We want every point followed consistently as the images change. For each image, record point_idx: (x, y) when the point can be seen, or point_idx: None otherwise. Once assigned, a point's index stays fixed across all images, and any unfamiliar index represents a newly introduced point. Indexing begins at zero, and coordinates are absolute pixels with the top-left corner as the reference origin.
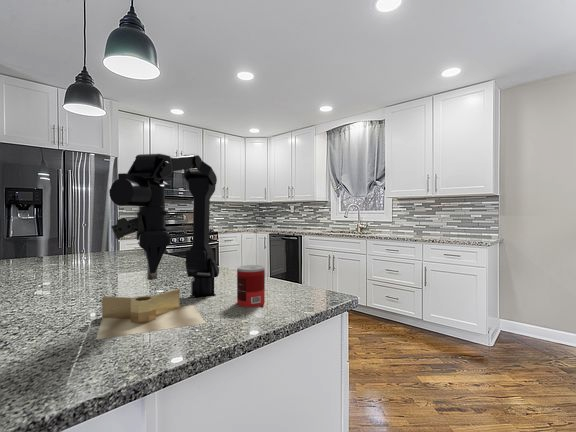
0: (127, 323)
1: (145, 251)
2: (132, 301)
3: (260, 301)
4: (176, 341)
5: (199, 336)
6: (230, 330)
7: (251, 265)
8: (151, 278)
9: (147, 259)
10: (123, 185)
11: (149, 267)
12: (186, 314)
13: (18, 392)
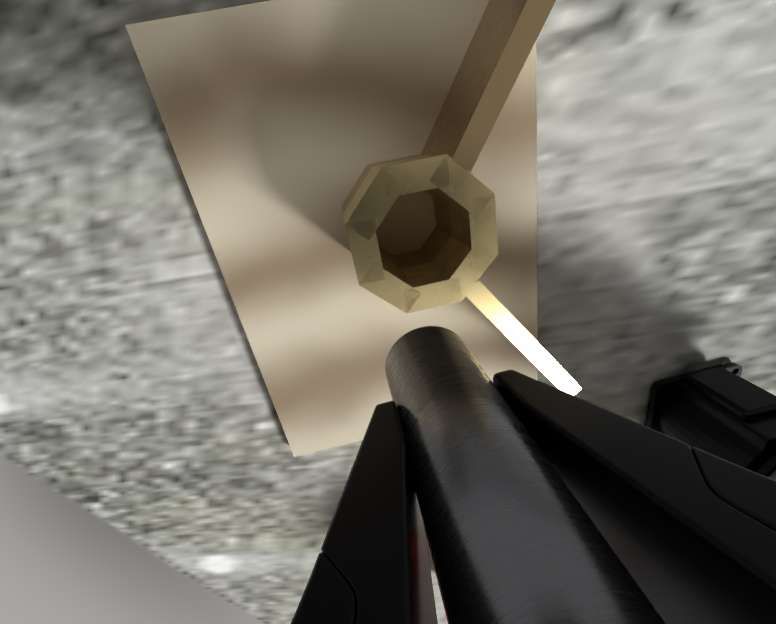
0: (356, 149)
1: (772, 592)
2: (373, 180)
3: None
4: (151, 376)
5: (196, 438)
6: (243, 512)
7: None
8: (386, 372)
9: (403, 527)
10: None
11: (362, 449)
12: None
13: None
